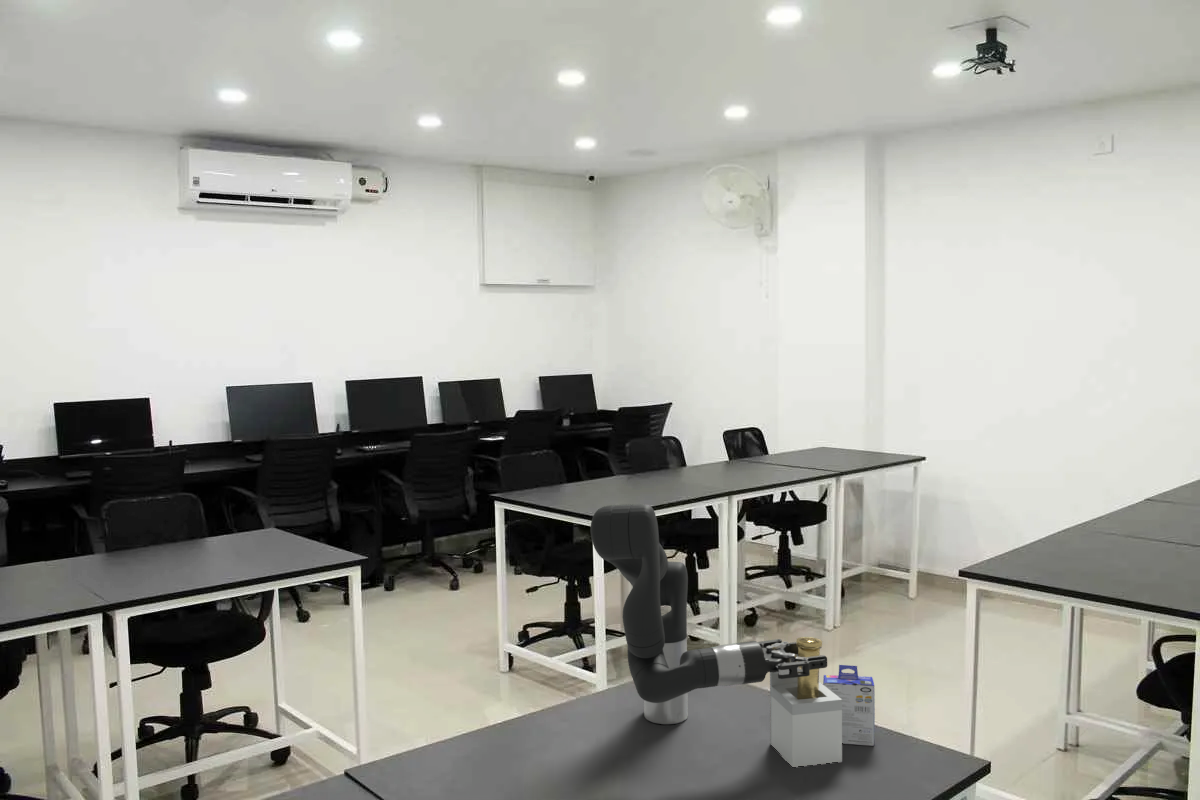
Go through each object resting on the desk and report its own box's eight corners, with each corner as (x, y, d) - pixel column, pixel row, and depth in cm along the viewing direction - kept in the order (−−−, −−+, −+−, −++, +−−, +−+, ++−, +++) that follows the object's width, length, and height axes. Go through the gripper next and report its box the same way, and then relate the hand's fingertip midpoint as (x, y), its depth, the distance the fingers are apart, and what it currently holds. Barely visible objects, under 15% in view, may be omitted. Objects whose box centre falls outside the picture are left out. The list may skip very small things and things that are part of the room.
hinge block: (770, 744, 183) (769, 654, 182) (817, 739, 185) (817, 650, 184) (792, 767, 173) (792, 672, 172) (842, 762, 175) (842, 668, 174)
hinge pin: (790, 699, 180) (792, 637, 179) (813, 697, 181) (815, 636, 180) (800, 707, 175) (802, 644, 175) (824, 706, 176) (826, 643, 176)
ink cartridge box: (873, 735, 187) (873, 664, 186) (875, 747, 181) (875, 674, 180) (822, 732, 189) (822, 662, 188) (823, 743, 183) (823, 671, 182)
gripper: (748, 657, 167) (832, 646, 170) (722, 632, 181) (801, 623, 184) (750, 697, 168) (834, 686, 171) (724, 670, 182) (802, 660, 185)
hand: (816, 653), depth 178 cm, fingers open, 8 cm apart
